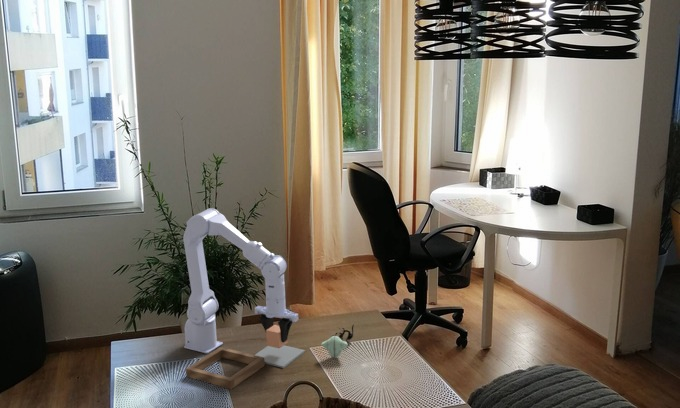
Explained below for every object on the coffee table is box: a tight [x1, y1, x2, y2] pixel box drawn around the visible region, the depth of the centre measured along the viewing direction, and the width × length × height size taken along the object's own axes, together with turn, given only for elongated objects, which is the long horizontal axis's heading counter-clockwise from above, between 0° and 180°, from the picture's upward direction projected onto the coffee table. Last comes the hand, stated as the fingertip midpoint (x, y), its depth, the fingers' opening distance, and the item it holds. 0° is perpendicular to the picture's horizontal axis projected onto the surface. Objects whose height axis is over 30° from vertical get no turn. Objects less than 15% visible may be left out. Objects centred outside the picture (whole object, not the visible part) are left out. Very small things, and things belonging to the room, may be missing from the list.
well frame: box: [185, 346, 266, 390], centre depth 198 cm, size 16×16×2 cm
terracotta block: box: [265, 324, 288, 348], centre depth 205 cm, size 4×4×5 cm
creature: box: [331, 324, 355, 342], centre depth 216 cm, size 8×5×8 cm
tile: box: [254, 344, 306, 369], centre depth 207 cm, size 12×12×1 cm
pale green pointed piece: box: [320, 335, 348, 359], centre depth 205 cm, size 8×4×7 cm, turn 86°
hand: (277, 339), depth 206 cm, fingers closed on terracotta block, 4 cm apart
